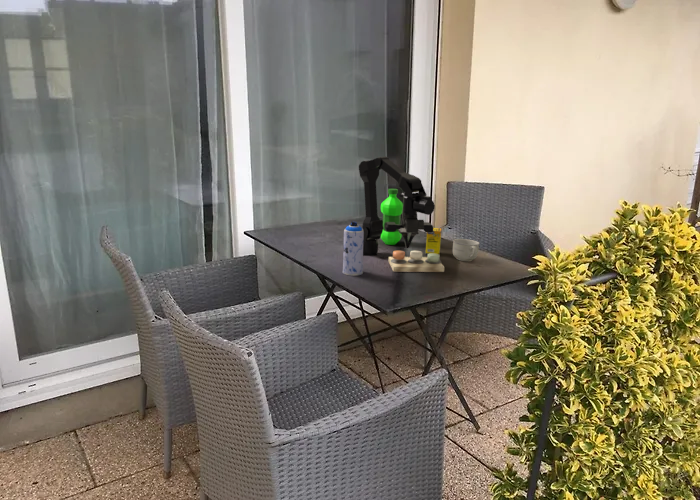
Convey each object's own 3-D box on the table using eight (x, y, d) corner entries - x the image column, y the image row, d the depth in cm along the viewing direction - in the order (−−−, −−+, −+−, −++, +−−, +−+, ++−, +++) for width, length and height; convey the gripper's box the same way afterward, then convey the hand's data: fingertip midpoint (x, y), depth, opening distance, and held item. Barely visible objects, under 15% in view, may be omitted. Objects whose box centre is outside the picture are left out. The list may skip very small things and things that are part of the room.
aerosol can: (339, 270, 233) (340, 220, 228) (358, 268, 236) (359, 219, 231) (346, 276, 226) (348, 224, 221) (365, 274, 229) (367, 223, 224)
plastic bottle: (376, 244, 272) (378, 190, 266) (384, 239, 282) (386, 186, 275) (397, 247, 269) (400, 192, 262) (404, 242, 278) (407, 188, 272)
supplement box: (439, 256, 257) (441, 231, 254) (425, 255, 258) (426, 230, 255) (440, 252, 262) (441, 228, 260) (426, 251, 264) (427, 227, 261)
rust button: (393, 259, 237) (393, 253, 236) (391, 256, 242) (392, 250, 241) (405, 259, 237) (406, 253, 237) (403, 256, 242) (404, 250, 241)
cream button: (411, 259, 238) (411, 253, 237) (409, 256, 242) (409, 250, 242) (423, 259, 238) (423, 253, 237) (420, 256, 243) (421, 250, 242)
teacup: (449, 255, 258) (450, 237, 256) (473, 255, 259) (475, 237, 257) (457, 265, 244) (459, 246, 242) (483, 265, 245) (485, 246, 243)
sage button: (428, 262, 238) (428, 256, 238) (426, 258, 243) (426, 253, 242) (440, 262, 239) (440, 256, 238) (437, 259, 243) (438, 253, 243)
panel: (393, 271, 234) (393, 266, 233) (388, 261, 247) (388, 256, 246) (444, 271, 235) (444, 266, 235) (436, 261, 249) (437, 256, 248)
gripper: (389, 214, 226) (387, 253, 230) (438, 214, 228) (435, 254, 232) (385, 207, 237) (382, 245, 241) (431, 208, 239) (428, 246, 243)
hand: (407, 248), depth 239 cm, fingers closed
